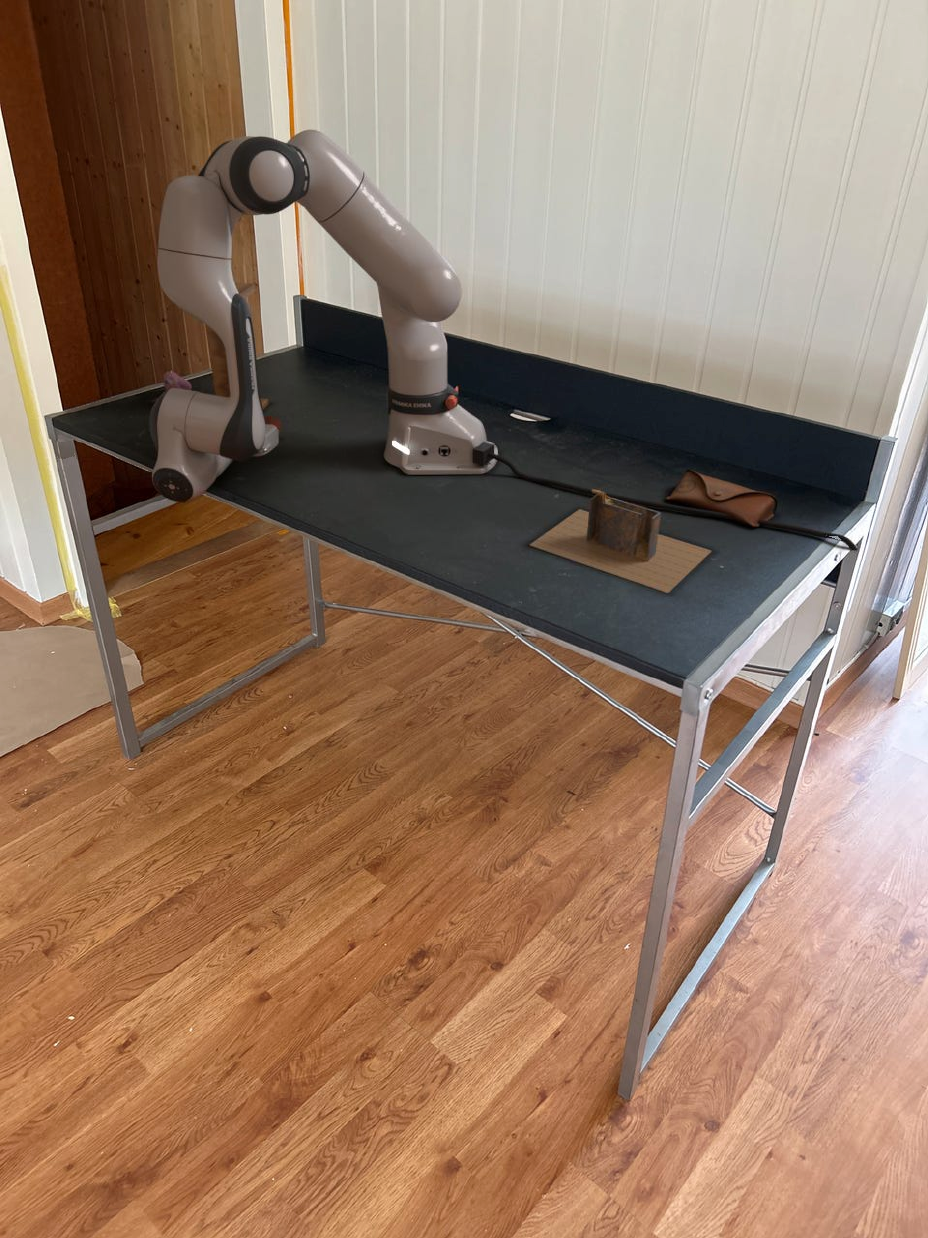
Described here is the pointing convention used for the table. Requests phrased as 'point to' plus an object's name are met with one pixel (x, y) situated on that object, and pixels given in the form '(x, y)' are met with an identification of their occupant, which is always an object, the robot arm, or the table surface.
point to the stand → (224, 352)
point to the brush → (273, 422)
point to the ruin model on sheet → (623, 543)
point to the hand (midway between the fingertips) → (237, 420)
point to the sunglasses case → (724, 498)
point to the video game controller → (175, 381)
